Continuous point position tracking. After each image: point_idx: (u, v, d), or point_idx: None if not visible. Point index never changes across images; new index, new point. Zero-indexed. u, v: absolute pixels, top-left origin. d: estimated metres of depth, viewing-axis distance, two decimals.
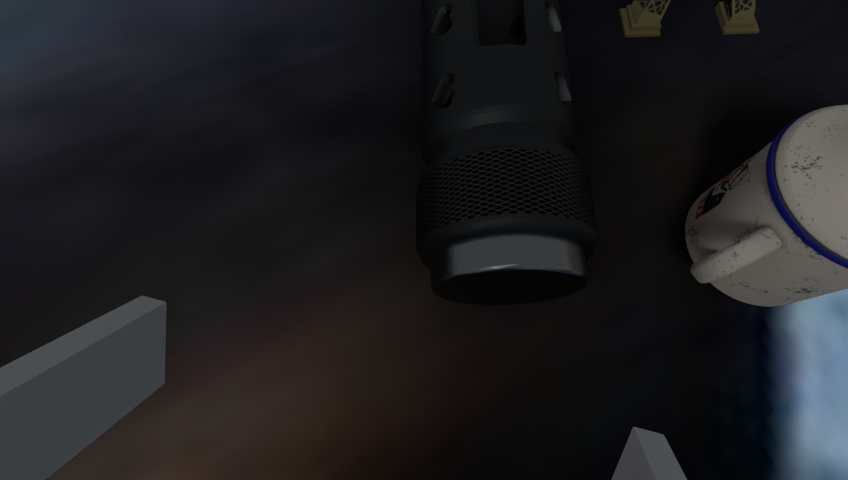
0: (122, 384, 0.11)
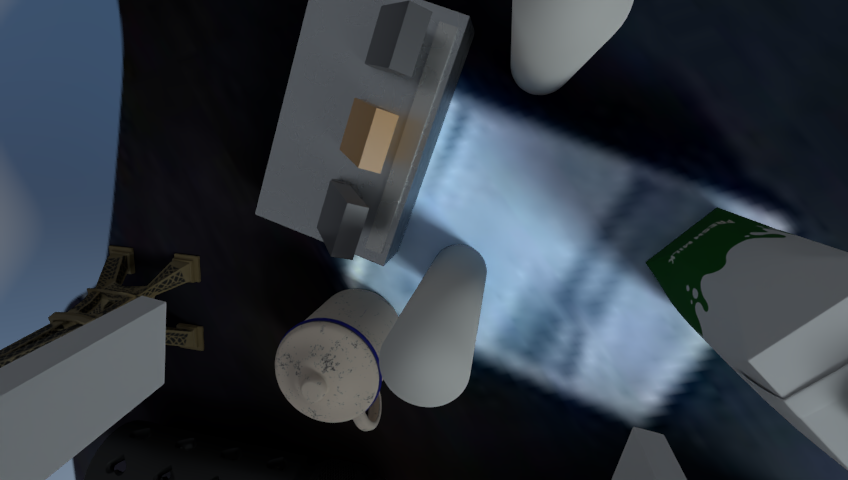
0: (122, 384, 0.11)
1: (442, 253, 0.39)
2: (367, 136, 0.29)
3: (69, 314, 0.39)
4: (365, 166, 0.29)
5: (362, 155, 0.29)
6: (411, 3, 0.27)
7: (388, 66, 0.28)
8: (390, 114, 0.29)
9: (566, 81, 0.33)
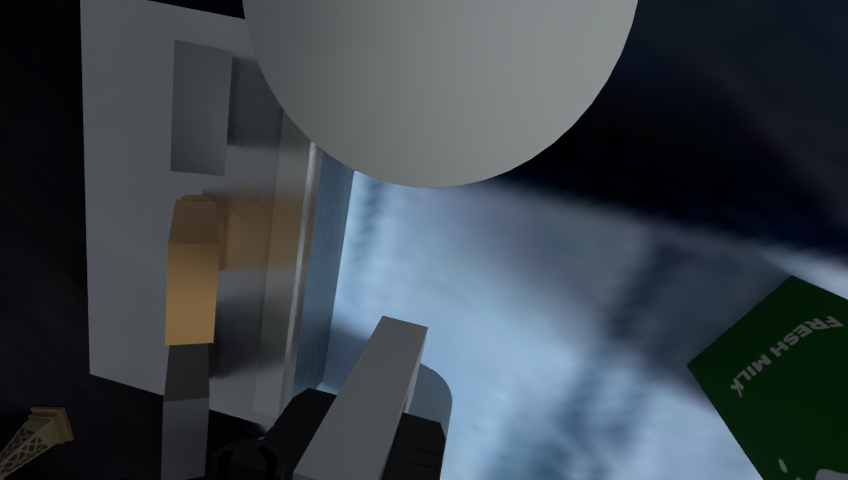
0: None
1: None
2: None
3: None
4: (179, 339, 0.16)
5: None
6: (180, 44, 0.13)
7: (170, 166, 0.15)
8: (201, 246, 0.16)
9: None
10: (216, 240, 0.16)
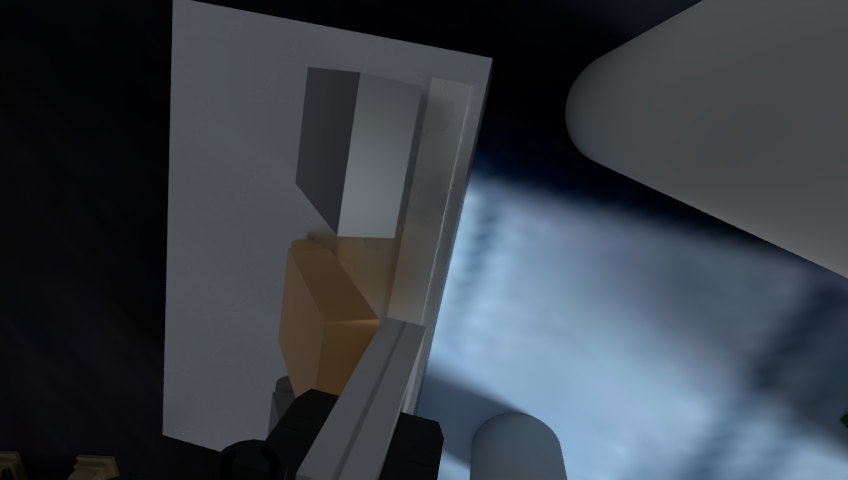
0: None
1: (488, 447, 0.23)
2: (316, 378, 0.13)
3: None
4: None
5: None
6: (366, 78, 0.10)
7: (335, 230, 0.12)
8: (359, 323, 0.13)
9: None
10: (371, 312, 0.13)
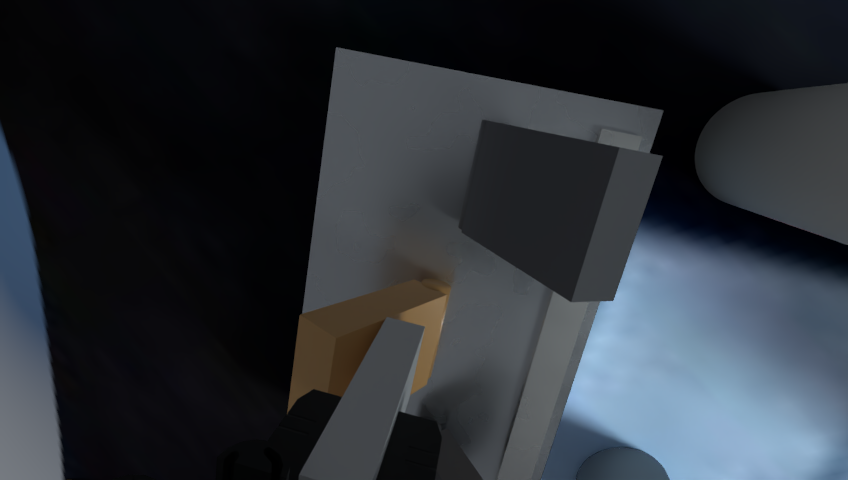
0: None
1: None
2: (294, 367, 0.14)
3: None
4: None
5: None
6: (622, 152, 0.10)
7: (567, 296, 0.12)
8: (322, 332, 0.13)
9: None
10: (345, 332, 0.13)
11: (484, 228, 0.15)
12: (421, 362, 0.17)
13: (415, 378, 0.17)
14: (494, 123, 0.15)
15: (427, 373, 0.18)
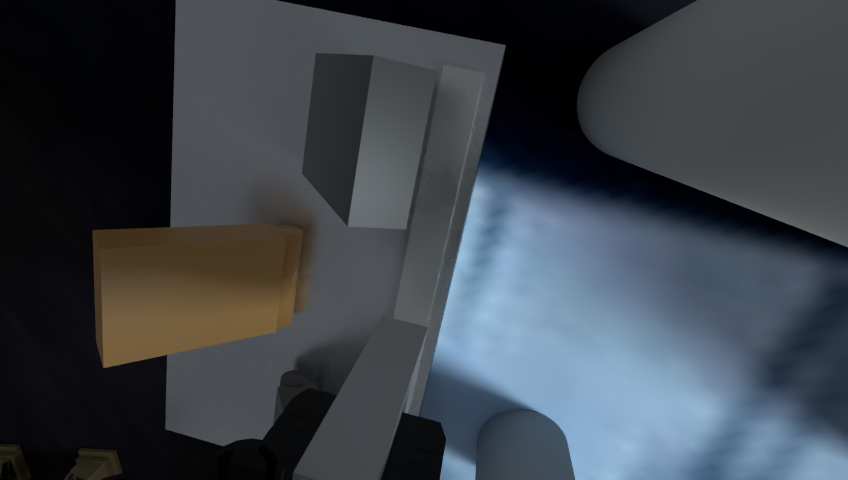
0: None
1: (494, 443, 0.23)
2: (97, 284, 0.14)
3: None
4: (97, 343, 0.15)
5: (95, 318, 0.15)
6: (379, 62, 0.10)
7: (346, 220, 0.11)
8: (97, 245, 0.13)
9: None
10: (118, 247, 0.13)
11: (311, 165, 0.14)
12: (259, 305, 0.17)
13: (253, 320, 0.17)
14: (318, 54, 0.14)
15: (274, 319, 0.17)
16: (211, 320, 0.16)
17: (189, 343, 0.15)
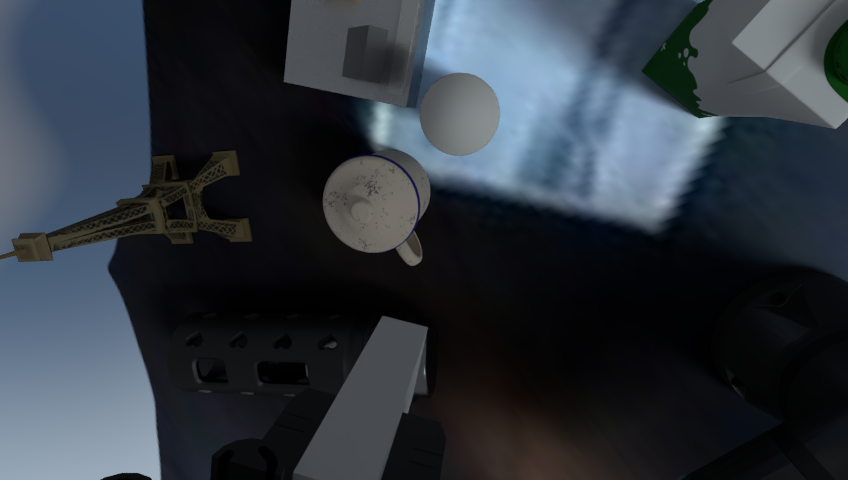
0: None
1: None
2: None
3: (133, 199, 0.43)
4: None
5: None
6: None
7: None
8: None
9: None
10: None
11: None
12: None
13: None
14: None
15: None
16: None
17: None
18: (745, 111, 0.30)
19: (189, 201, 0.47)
